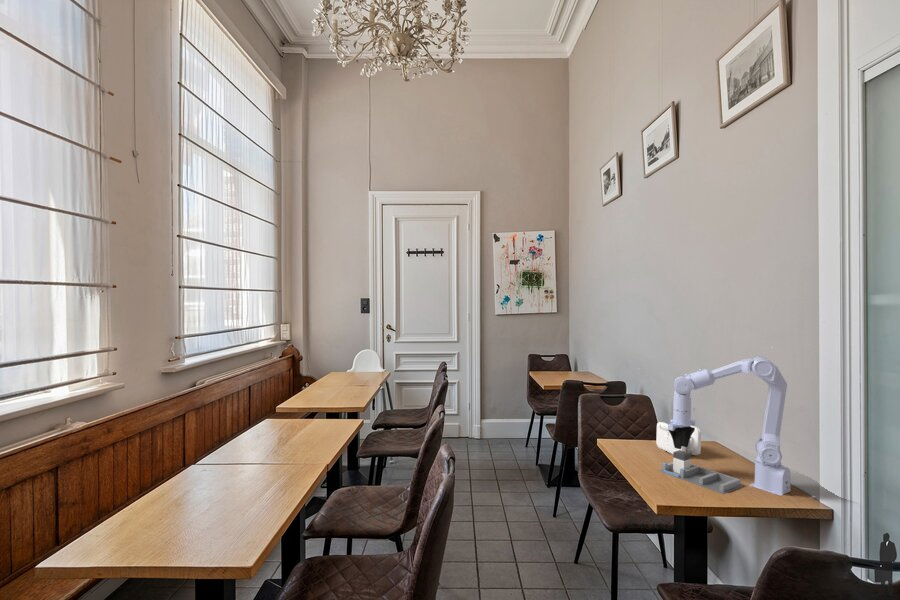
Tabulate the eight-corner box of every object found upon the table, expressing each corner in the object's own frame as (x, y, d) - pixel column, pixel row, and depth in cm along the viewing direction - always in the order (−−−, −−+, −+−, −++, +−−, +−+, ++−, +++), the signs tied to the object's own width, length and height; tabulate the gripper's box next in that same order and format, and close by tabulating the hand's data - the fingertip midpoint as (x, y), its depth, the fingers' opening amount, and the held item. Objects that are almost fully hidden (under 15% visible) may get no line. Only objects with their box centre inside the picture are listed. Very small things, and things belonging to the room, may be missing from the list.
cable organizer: (702, 458, 182) (703, 429, 182) (680, 460, 179) (681, 430, 179) (675, 446, 197) (676, 419, 196) (654, 447, 194) (655, 420, 194)
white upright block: (689, 472, 164) (690, 453, 164) (683, 474, 162) (684, 455, 162) (679, 469, 168) (679, 450, 168) (672, 471, 166) (673, 451, 166)
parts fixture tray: (743, 487, 154) (743, 477, 154) (723, 496, 147) (723, 485, 147) (677, 465, 173) (678, 456, 173) (657, 472, 166) (657, 462, 166)
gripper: (682, 405, 173) (681, 441, 173) (659, 409, 165) (658, 447, 165) (701, 409, 167) (700, 446, 167) (678, 414, 159) (677, 453, 159)
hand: (681, 447), depth 165 cm, fingers open, 4 cm apart
